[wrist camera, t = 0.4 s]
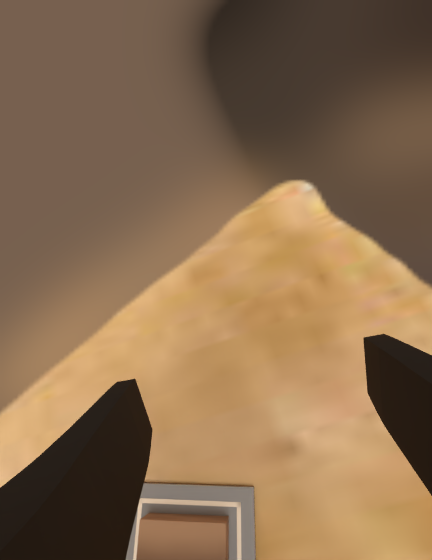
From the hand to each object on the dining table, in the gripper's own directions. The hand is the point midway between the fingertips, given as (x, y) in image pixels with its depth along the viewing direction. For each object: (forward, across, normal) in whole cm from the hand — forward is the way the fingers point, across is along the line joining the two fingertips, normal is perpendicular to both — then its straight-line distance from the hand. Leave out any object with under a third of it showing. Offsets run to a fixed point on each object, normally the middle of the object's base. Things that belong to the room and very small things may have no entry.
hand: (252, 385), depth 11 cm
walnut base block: (+13, +10, +28) cm, 32 cm away
